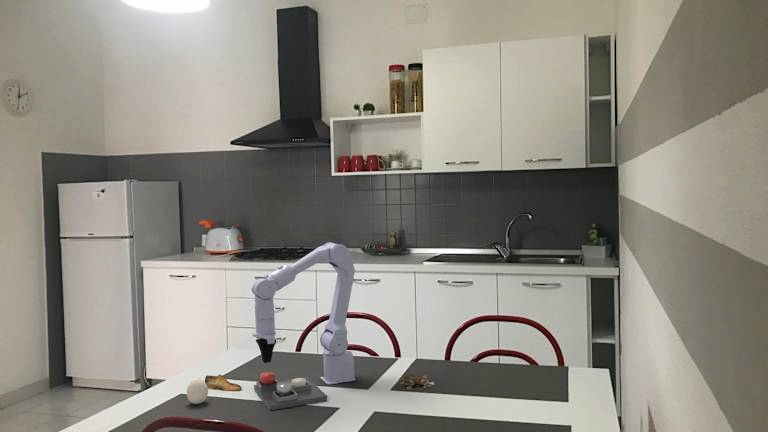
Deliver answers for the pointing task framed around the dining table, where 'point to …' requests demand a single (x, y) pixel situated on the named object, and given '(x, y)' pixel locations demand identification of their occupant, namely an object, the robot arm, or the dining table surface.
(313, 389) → the slate panel
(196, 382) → the egg
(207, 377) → the shoe last
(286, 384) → the steel button
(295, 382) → the ivory button
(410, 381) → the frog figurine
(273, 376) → the red button
